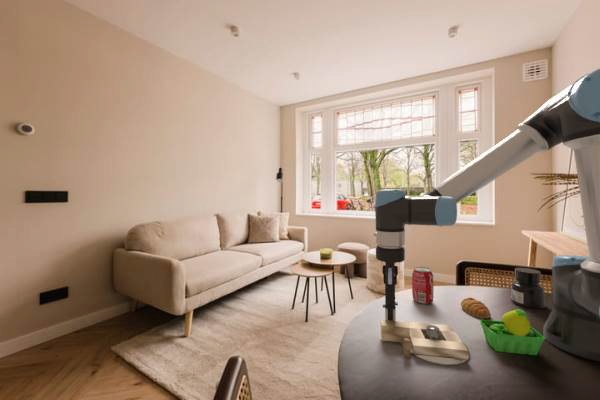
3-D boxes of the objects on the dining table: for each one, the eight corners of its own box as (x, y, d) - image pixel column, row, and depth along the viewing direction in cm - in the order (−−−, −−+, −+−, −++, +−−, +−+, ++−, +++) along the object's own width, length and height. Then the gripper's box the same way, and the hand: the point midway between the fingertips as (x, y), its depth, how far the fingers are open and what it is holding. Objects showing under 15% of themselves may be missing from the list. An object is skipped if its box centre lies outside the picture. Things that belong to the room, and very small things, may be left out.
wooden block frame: (450, 332, 73) (450, 318, 73) (468, 359, 61) (468, 342, 61) (379, 326, 77) (379, 312, 77) (383, 350, 65) (383, 334, 65)
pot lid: (478, 346, 68) (478, 328, 67) (455, 375, 57) (455, 354, 57) (416, 323, 80) (416, 309, 80) (388, 344, 69) (388, 327, 69)
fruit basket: (526, 341, 70) (526, 299, 69) (550, 362, 61) (551, 314, 61) (478, 337, 72) (478, 296, 72) (495, 357, 63) (495, 311, 63)
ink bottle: (509, 296, 99) (509, 265, 98) (541, 301, 94) (541, 268, 94) (513, 306, 91) (513, 272, 90) (547, 312, 86) (547, 276, 85)
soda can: (429, 297, 99) (428, 266, 99) (436, 305, 92) (436, 272, 92) (409, 297, 100) (409, 266, 100) (416, 305, 93) (415, 271, 93)
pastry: (497, 320, 81) (497, 308, 81) (475, 320, 82) (475, 308, 82) (477, 307, 91) (477, 296, 91) (458, 307, 91) (458, 296, 91)
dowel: (411, 356, 64) (411, 340, 64) (408, 358, 63) (408, 342, 63) (405, 353, 65) (405, 337, 65) (402, 355, 64) (402, 339, 64)
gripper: (377, 240, 79) (377, 316, 80) (374, 250, 67) (374, 339, 68) (403, 241, 77) (404, 320, 78) (405, 251, 64) (406, 345, 65)
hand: (390, 329), depth 73 cm, fingers closed
